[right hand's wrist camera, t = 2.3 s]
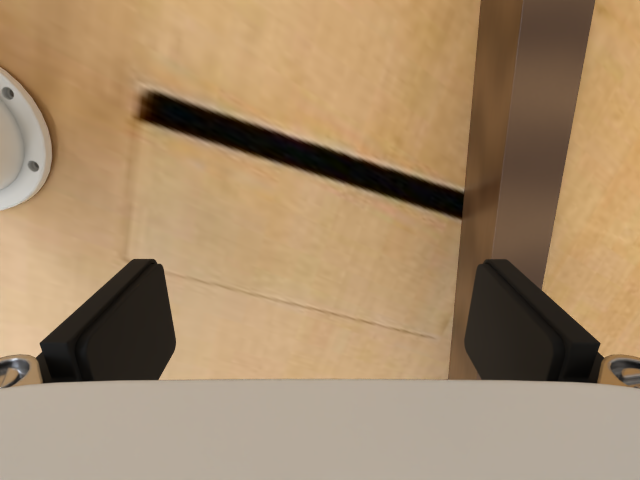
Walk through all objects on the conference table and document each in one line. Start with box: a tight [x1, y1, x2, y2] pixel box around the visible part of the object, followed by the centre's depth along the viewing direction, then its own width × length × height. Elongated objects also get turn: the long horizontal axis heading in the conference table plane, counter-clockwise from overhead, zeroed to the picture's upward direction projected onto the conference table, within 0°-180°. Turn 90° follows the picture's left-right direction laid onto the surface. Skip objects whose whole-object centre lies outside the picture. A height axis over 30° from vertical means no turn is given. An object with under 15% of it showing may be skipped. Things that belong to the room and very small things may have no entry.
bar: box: [448, 0, 595, 380], centre depth 32 cm, size 82×4×6 cm, turn 3°
